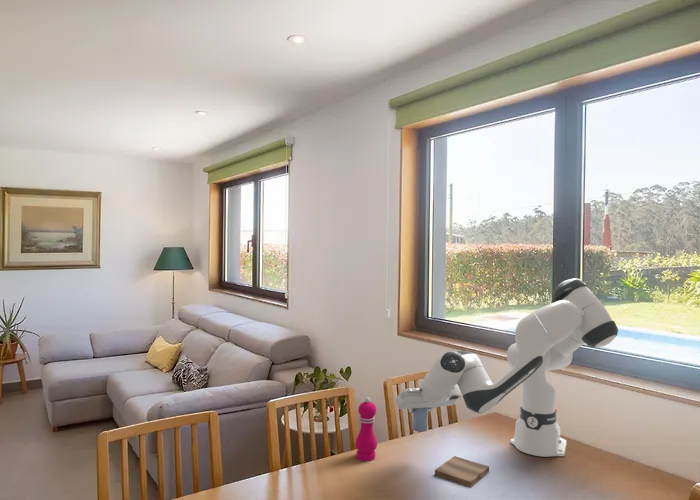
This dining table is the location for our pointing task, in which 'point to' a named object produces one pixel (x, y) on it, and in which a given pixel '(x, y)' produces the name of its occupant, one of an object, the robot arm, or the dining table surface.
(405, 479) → the dining table surface
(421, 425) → the spice jar
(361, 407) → the pepper mill
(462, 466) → the walnut board
